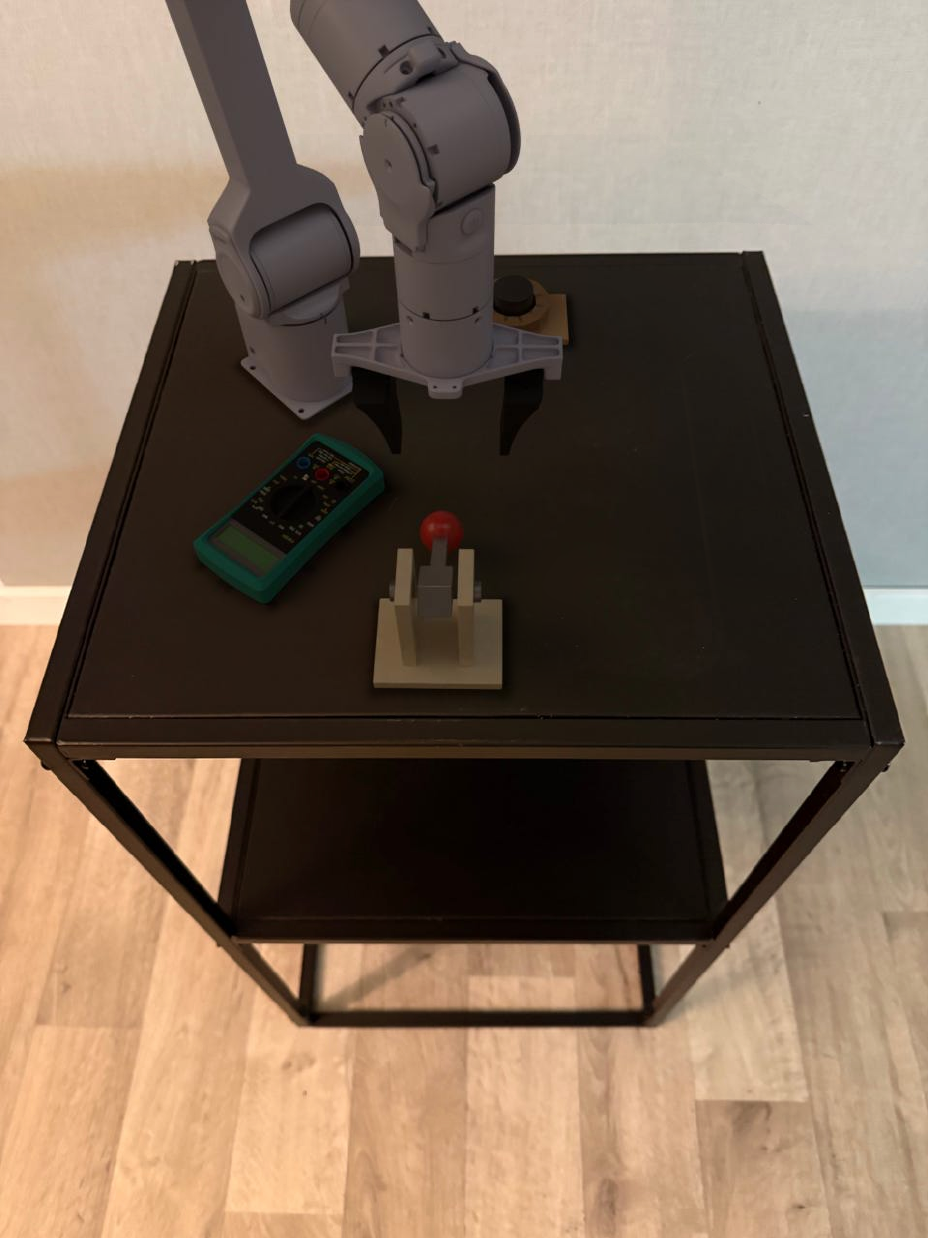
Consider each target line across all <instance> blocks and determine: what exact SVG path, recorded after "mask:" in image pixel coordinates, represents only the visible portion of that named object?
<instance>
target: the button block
mask: <svg viewBox="0 0 928 1238" xmlns="http://www.w3.org/2000/svg"><path fill="white" fill-rule="evenodd" d="M499 278H500V277H498V278H494V283H495V281H496V280H497V279H499ZM528 279H529V280H530V281H531V283H532V285H533V288H534V289H533V305H532V308H531V309H530V311H529V312H527V313H526V314H524V315H522V316H518V317H507V316H504V315H501V314H499V313H498V312H497V311H496V310H495V309H494V307H493V322H494V323H497V324H501V325H505V326H509V327H513V328H516V329H520V330H524V331H528V332H532V333H536V334H541V335H549V336H561V337H562V346H568V345H569V340H570V339H569V323H568V309H567V295H566V293H548V292H547V290H546V289H545V288H544V287H543V286H542V285H541V283H540V282H538V281H535V280H533V279H530V278H528Z"/></svg>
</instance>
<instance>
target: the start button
mask: <svg viewBox="0 0 928 1238" xmlns="http://www.w3.org/2000/svg"><path fill="white" fill-rule="evenodd" d="M498 278H499V279H497V278H496V279H497V280H496V281H495V283H494V287H493V307H494V309H495V310H496V311H497V312H498V313H499V314H501V315H504V316H507V317H518V316H522V315H524V314H526V313H527V312H529V311H530V309H531V308H532V305H533V289H534V288H533V285H532V283H531V281H530V280H531V279H530V278H527V277H526V276H523V275H520V274H506V275H503V276H500V277H498ZM529 279H530V280H529Z"/></svg>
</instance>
